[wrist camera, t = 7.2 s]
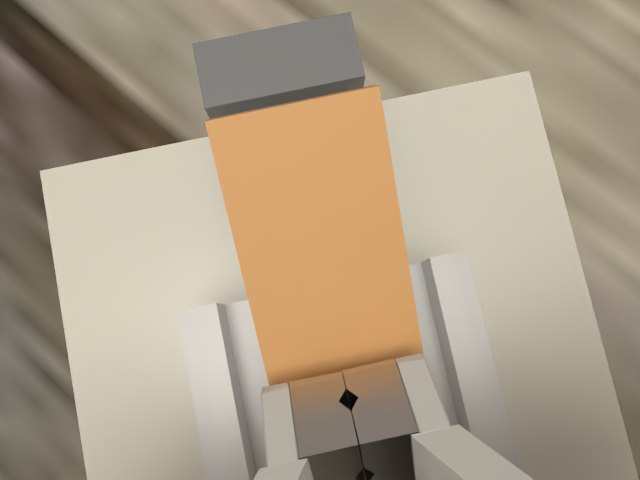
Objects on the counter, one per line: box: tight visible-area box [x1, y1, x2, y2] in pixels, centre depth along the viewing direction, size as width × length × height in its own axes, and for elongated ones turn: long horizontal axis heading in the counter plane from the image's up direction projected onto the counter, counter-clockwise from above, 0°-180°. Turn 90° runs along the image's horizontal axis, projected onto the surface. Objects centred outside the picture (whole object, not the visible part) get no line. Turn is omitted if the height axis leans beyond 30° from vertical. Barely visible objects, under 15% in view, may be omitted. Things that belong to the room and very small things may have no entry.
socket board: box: [40, 12, 639, 480], centre depth 19 cm, size 20×22×11 cm
